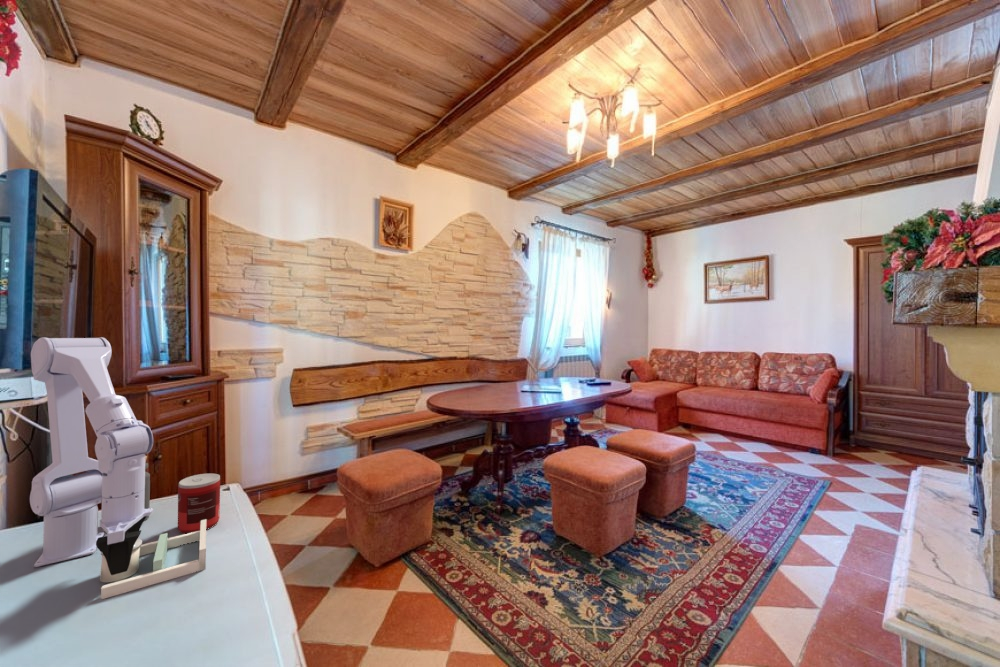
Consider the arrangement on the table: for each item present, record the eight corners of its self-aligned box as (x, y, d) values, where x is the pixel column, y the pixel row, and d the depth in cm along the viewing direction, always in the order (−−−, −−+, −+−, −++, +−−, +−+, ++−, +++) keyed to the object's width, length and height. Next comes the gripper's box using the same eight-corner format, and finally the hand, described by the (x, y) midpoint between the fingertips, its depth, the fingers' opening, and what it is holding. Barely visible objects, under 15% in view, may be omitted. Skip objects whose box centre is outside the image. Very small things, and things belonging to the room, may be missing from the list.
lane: (117, 559, 75) (117, 539, 75) (206, 537, 83) (206, 519, 83) (100, 599, 64) (101, 576, 64) (205, 569, 72) (205, 548, 72)
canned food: (199, 516, 92) (200, 472, 92) (228, 519, 91) (228, 474, 91) (167, 532, 85) (168, 484, 85) (198, 536, 84) (199, 486, 84)
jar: (102, 571, 70) (104, 543, 71) (141, 563, 74) (143, 535, 74) (95, 586, 66) (97, 556, 66) (137, 576, 69) (139, 547, 70)
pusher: (159, 550, 78) (159, 534, 78) (167, 548, 78) (167, 532, 78) (152, 579, 69) (153, 561, 69) (161, 576, 69) (162, 559, 69)
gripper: (147, 500, 67) (146, 576, 67) (157, 475, 78) (155, 540, 78) (90, 511, 63) (88, 592, 63) (108, 483, 74) (107, 551, 74)
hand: (122, 564), depth 70 cm, fingers closed on jar, 5 cm apart
